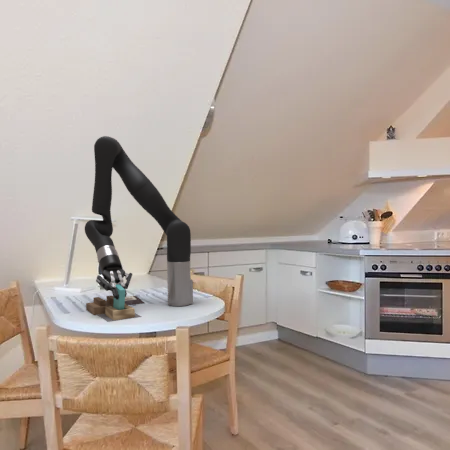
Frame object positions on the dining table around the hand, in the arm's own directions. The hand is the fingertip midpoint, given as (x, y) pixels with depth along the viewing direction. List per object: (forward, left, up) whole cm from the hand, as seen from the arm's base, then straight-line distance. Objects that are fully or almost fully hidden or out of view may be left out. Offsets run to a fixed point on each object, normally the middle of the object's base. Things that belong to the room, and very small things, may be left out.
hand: (121, 297), depth 150 cm
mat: (0, -3, -7) cm, 8 cm away
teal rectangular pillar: (0, -3, -6) cm, 7 cm away
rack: (0, -3, -7) cm, 7 cm away
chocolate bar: (-13, -27, -8) cm, 31 cm away
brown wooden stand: (+1, -14, -7) cm, 16 cm away
